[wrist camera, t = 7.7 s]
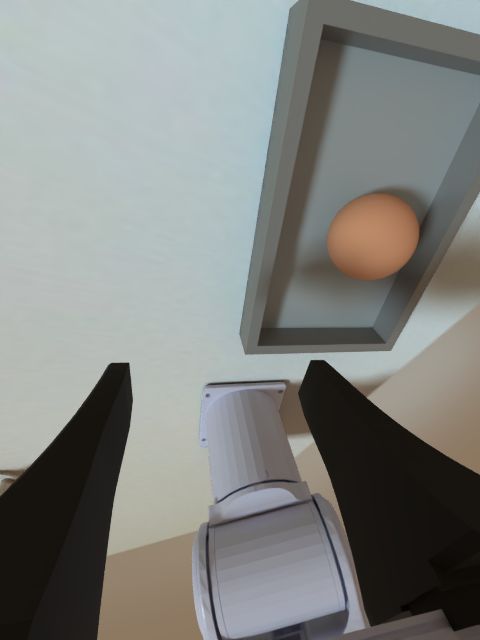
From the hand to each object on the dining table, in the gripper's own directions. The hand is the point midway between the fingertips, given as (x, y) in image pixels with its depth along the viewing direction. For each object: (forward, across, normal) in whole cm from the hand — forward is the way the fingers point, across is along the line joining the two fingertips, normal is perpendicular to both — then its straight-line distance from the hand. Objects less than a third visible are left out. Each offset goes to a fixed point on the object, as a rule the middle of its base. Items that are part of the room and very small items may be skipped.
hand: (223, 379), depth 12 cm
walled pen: (+10, -9, -4) cm, 14 cm away
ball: (+7, -9, -4) cm, 13 cm away
